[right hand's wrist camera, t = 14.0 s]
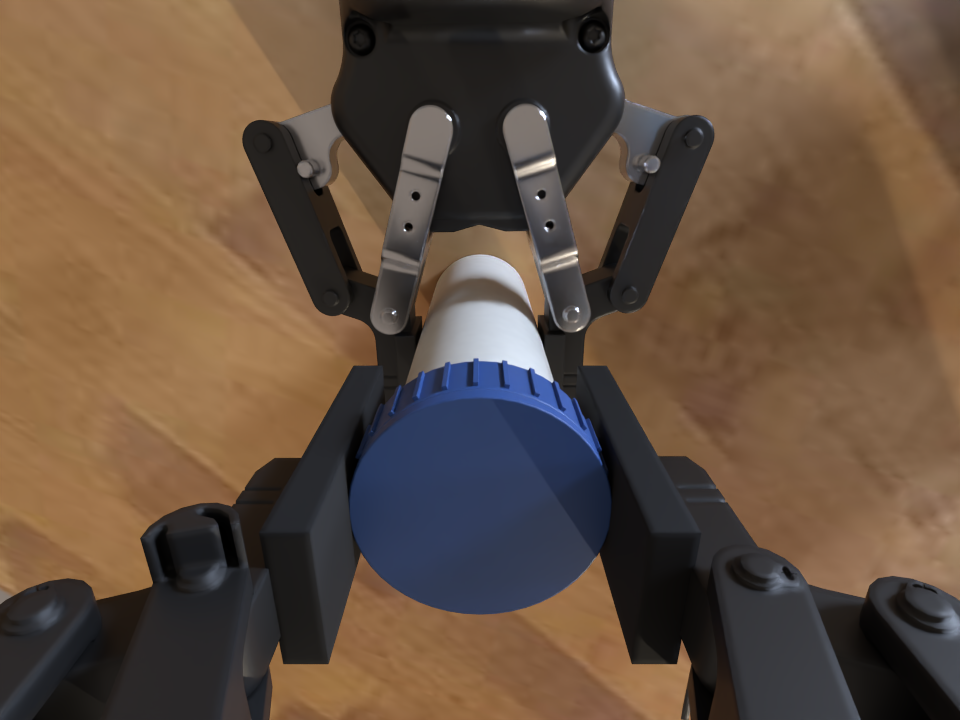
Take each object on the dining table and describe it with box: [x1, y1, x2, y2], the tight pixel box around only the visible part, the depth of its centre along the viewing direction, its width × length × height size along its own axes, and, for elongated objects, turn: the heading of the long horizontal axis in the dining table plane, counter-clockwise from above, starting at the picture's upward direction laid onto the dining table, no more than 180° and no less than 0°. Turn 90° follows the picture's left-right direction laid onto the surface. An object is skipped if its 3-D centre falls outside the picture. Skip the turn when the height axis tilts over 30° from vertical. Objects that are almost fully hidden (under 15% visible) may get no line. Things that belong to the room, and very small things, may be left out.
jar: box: [405, 254, 554, 385], centre depth 18 cm, size 4×4×15 cm
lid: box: [348, 358, 612, 614], centre depth 11 cm, size 5×5×2 cm
